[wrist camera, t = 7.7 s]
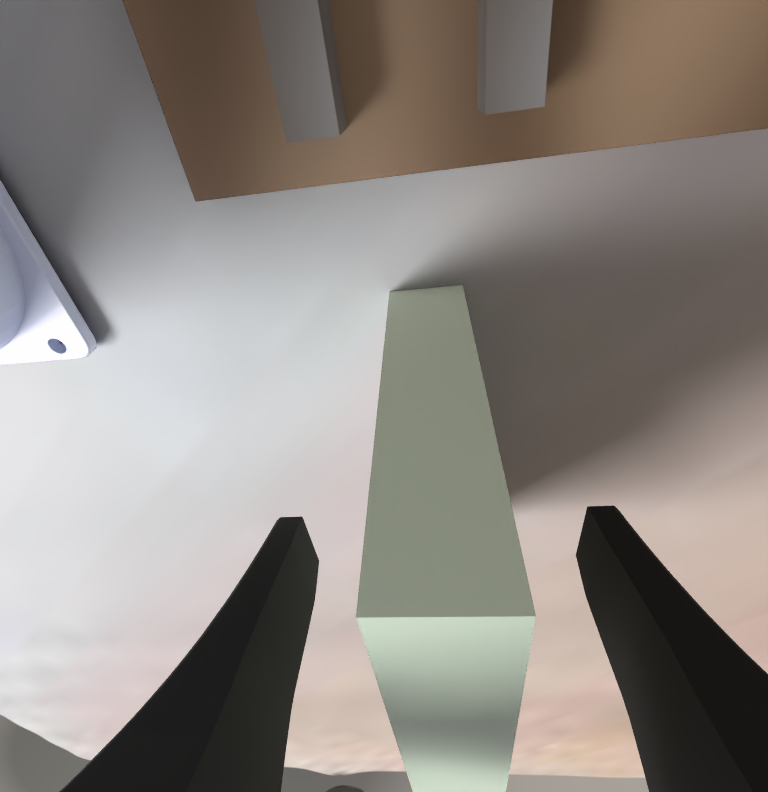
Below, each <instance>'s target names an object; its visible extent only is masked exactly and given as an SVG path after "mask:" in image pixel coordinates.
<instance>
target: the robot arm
mask: <svg viewBox="0 0 768 792" xmlns="http://www.w3.org/2000/svg"><path fill="white" fill-rule="evenodd" d="M57 339H58V340H59V341H61V342H62V343H63V344H64V345H65V346H64V345H62V344H61V343H60V342H59V341H58V340H57ZM96 344H97V343H96V340H95V338H94V336H93V334H92V333H91V331H90V329H89V328H88V326H87V324H86V323H85V321H84V319H83V318H82V316H81V314H80V313H79V311H78V309H77V308H76V306H75V304H74V303H73V301H72V299H71V298H70V296H69V294H68V293H67V291H66V289H65V288H64V286H63V284H62V282H61V281H60V279H59V277H58V276H57V274H56V272H55V271H54V269H53V267H52V266H51V264H50V262H49V261H48V259H47V257H46V256H45V254H44V252H43V251H42V249H41V247H40V246H39V244H38V242H37V241H36V239H35V237H34V236H33V234H32V232H31V231H30V229H29V227H28V226H27V224H26V222H25V221H24V219H23V217H22V216H21V214H20V212H19V211H18V209H17V207H16V206H15V204H14V202H13V201H12V199H11V197H10V196H9V194H8V192H7V191H6V189H5V187H4V185H3V184H2V182H1V180H0V365H8V364H20V363H32V362H43V361H55V360H67V359H79V358H85V357H88V356H89V355H90V354H91V353H92V352H93V351H94V350H95V349H96ZM576 557H577V561H578V566H579V570H580V574H581V578H582V582H583V586H584V590H585V594H586V598H587V601H588V603H589V606H590V609H591V612H592V615H593V617H594V620H595V623H596V626H597V628H598V631H599V634H600V637H601V639H602V642H603V645H604V648H605V650H606V653H607V656H608V658H609V661H610V664H611V667H612V669H613V672H614V675H615V677H616V680H617V683H618V686H619V688H620V691H621V694H622V697H623V700H624V703H625V706H626V709H627V712H628V715H629V718H630V722H631V725H632V729H633V733H634V736H635V740H636V744H637V747H638V751H639V755H640V758H641V762H642V766H643V770H644V773H645V777H646V781H647V785H648V789H649V792H768V674H767V673H766V672H765V671H764V670H763V669H762V668H761V667H760V666H759V665H758V664H757V663H756V662H755V661H754V660H752V659H751V658H750V657H749V656H748V655H747V654H746V653H745V652H744V651H743V650H742V649H741V648H740V647H739V646H738V645H737V644H736V643H735V642H734V641H733V640H732V639H731V638H730V637H729V636H728V635H727V634H726V633H725V632H724V631H723V630H722V629H721V627H720V626H719V625H718V624H717V623H716V622H715V621H714V620H713V619H712V618H711V617H710V616H709V615H708V614H707V613H706V612H705V611H704V610H703V609H702V608H701V607H700V605H699V604H698V603H697V602H696V601H695V600H694V599H693V598H692V597H691V596H690V594H689V593H688V592H687V591H686V590H685V589H684V588H683V587H682V586H681V584H680V583H679V582H678V581H677V580H676V579H675V578H674V577H673V575H672V574H671V573H670V572H669V571H668V570H667V569H666V567H665V566H664V565H663V564H662V563H661V562H660V561H659V559H658V558H657V557H656V556H655V555H654V553H653V552H652V551H651V550H650V549H649V547H648V546H647V545H646V544H645V543H644V541H643V540H642V539H641V538H640V536H639V535H638V534H637V533H636V531H635V530H634V529H633V528H632V526H631V525H630V524H629V523H628V521H627V520H626V519H625V518H624V516H623V515H622V514H621V513H620V511H619V510H618V509H617V508H616V507H615V506H591V507H587V511H586V515H585V519H584V523H583V528H582V532H581V536H580V540H579V545H578V549H577V553H576ZM318 565H319V560H318V557H317V554H316V552H315V549H314V547H313V544H312V541H311V539H310V536H309V533H308V531H307V528H306V525H305V523H304V520H303V517H281V518H279V519H278V520H277V522H276V523H275V525H274V527H273V528H272V530H271V532H270V533H269V535H268V537H267V538H266V540H265V542H264V543H263V545H262V547H261V548H260V550H259V552H258V553H257V555H256V556H255V558H254V560H253V561H252V563H251V564H250V566H249V568H248V569H247V571H246V572H245V574H244V575H243V577H242V578H241V580H240V581H239V583H238V584H237V586H236V587H235V589H234V590H233V592H232V593H231V595H230V596H229V598H228V599H227V601H226V602H225V604H224V605H223V607H222V608H221V609H220V611H219V612H218V613H217V615H216V616H215V618H214V619H213V620H212V622H211V623H210V625H209V626H208V627H207V629H206V630H205V631H204V633H203V634H202V636H201V637H200V638H199V639H198V641H197V642H196V643H195V645H194V646H193V647H192V649H191V650H190V651H189V652H188V654H187V655H186V656H185V657H184V659H183V660H182V661H181V662H180V664H179V665H178V666H177V667H176V668H175V670H174V671H173V672H172V673H171V675H170V676H169V677H168V678H167V679H166V681H165V682H164V683H163V684H162V685H161V686H160V687H159V689H158V690H157V691H156V692H155V693H154V694H153V695H152V697H151V698H150V699H149V700H148V701H147V702H146V703H145V705H144V706H143V707H142V708H141V709H140V710H139V711H138V712H137V713H136V715H135V716H134V717H133V718H132V719H131V720H130V721H129V722H128V723H127V724H126V725H125V726H124V728H123V729H122V730H121V731H120V732H119V733H118V734H117V735H116V736H115V737H114V738H113V739H112V740H111V741H110V742H109V743H108V744H107V745H106V746H105V747H104V748H103V749H102V750H101V751H100V752H99V753H98V754H97V755H96V756H95V757H94V758H93V759H92V760H91V761H90V762H89V764H87V765H86V767H85V768H84V769H83V770H82V771H81V772H80V773H79V774H78V775H76V777H74V779H72V780H71V782H69V783H68V785H66V786H65V787H64V788H63V789H62V790H61V791H60V792H281V784H282V776H283V768H284V760H285V752H286V744H287V737H288V730H289V722H290V715H291V709H292V703H293V698H294V692H295V688H296V683H297V679H298V674H299V670H300V665H301V661H302V656H303V652H304V647H305V643H306V638H307V634H308V629H309V625H310V620H311V615H312V611H313V606H314V601H315V594H316V585H317V576H318Z"/></svg>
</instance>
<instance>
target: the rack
mask: <svg viewBox="0 0 768 792" xmlns="http://www.w3.org/2000/svg"><path fill="white" fill-rule="evenodd" d="M123 2H124V5H125V8H126V11H127V14H128V16H129V19H130V22H131V25H132V27H133V30H134V33H135V36H136V38H137V41H138V44H139V47H140V49H141V52H142V55H143V58H144V60H145V63H146V66H147V69H148V71H149V74H150V77H151V80H152V83H153V85H154V88H155V91H156V94H157V96H158V99H159V102H160V105H161V107H162V110H163V113H164V116H165V118H166V121H167V124H168V127H169V129H170V132H171V135H172V138H173V140H174V143H175V146H176V149H177V152H178V154H179V157H180V160H181V163H182V165H183V168H184V171H185V174H186V176H187V179H188V182H189V185H190V187H191V190H192V193H193V196H194V198H195V201H204V200H211V199H219V198H227V197H235V196H243V195H250V194H258V193H266V192H274V191H282V190H289V189H297V188H305V187H313V186H321V185H328V184H336V183H344V182H352V181H360V180H367V179H375V178H383V177H391V176H399V175H406V174H414V173H422V172H430V171H438V170H445V169H453V168H461V167H469V166H477V165H484V164H492V163H500V162H508V161H516V160H523V159H531V158H539V157H547V156H555V155H562V154H570V153H578V152H586V151H593V150H601V149H609V148H617V147H625V146H632V145H640V144H648V143H656V142H664V141H671V140H679V139H687V138H695V137H703V136H710V135H718V134H726V133H734V132H742V131H749V130H757V129H765V128H768V0H123Z"/></svg>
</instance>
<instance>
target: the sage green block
mask: <svg viewBox="0 0 768 792" xmlns="http://www.w3.org/2000/svg"><path fill="white" fill-rule="evenodd" d="M356 619H357V622H358V625H359V628H360V631H361V634H362V637H363V641H364V644H365V647H366V650H367V653H368V656H369V659H370V662H371V665H372V668H373V671H374V674H375V677H376V680H377V683H378V686H379V689H380V692H381V696H382V699H383V702H384V705H385V708H386V711H387V714H388V717H389V720H390V723H391V726H392V729H393V732H394V735H395V738H396V741H397V744H398V747H399V751H400V754H401V757H402V760H403V763H404V766H405V769H406V772H407V775H408V778H409V781H410V784H411V787H412V790H413V792H506V786H507V781H508V775H509V769H510V764H511V758H512V752H513V746H514V740H515V735H516V729H517V723H518V717H519V712H520V706H521V700H522V694H523V688H524V683H525V677H526V671H527V665H528V660H529V654H530V648H531V642H532V636H533V631H534V625H535V619H536V614H535V610H534V605H533V601H532V596H531V592H530V587H529V583H528V578H527V574H526V569H525V565H524V560H523V556H522V551H521V547H520V542H519V537H518V533H517V528H516V524H515V519H514V515H513V510H512V506H511V501H510V497H509V492H508V488H507V483H506V479H505V474H504V470H503V465H502V461H501V456H500V452H499V447H498V443H497V438H496V433H495V429H494V424H493V420H492V415H491V411H490V406H489V402H488V397H487V393H486V388H485V384H484V379H483V375H482V370H481V366H480V361H479V357H478V352H477V348H476V343H475V339H474V334H473V329H472V325H471V320H470V316H469V311H468V307H467V302H466V298H465V293H464V289H463V285H456V286H445V287H435V288H424V289H413V290H402V291H392V292H390V293H389V303H388V312H387V322H386V332H385V341H384V351H383V361H382V370H381V380H380V390H379V399H378V409H377V419H376V429H375V438H374V448H373V458H372V467H371V477H370V487H369V496H368V506H367V516H366V525H365V535H364V545H363V554H362V564H361V574H360V584H359V593H358V603H357V613H356Z"/></svg>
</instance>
